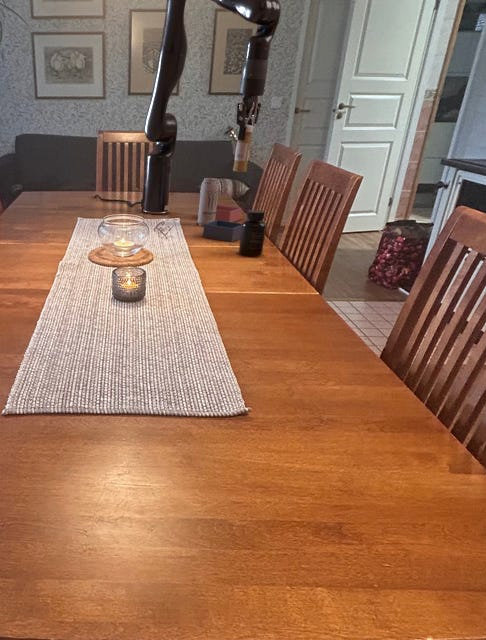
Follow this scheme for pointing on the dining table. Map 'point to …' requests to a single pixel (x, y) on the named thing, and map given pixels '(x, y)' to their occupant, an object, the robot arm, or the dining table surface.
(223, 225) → the slate bin
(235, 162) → the sprinkles bottle
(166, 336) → the dining table surface
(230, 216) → the rose bin
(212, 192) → the energy drink can
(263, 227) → the supplement bottle
